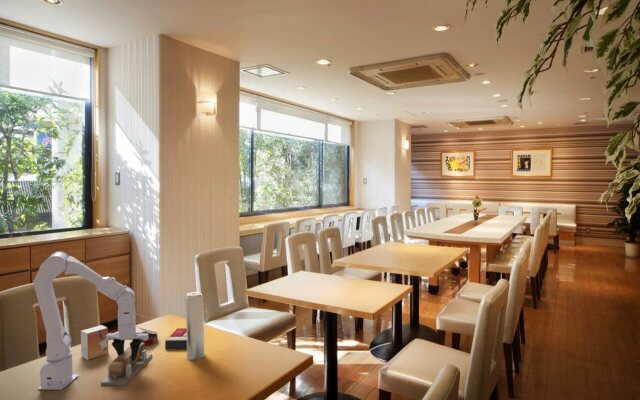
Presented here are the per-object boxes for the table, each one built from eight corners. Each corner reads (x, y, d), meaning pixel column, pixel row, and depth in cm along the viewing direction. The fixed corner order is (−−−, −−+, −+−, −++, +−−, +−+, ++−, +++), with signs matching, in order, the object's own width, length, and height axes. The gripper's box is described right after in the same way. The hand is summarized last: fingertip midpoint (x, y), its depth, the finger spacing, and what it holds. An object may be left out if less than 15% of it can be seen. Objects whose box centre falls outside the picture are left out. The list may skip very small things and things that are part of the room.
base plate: (124, 385, 138) (123, 372, 138) (100, 385, 138) (100, 372, 138) (152, 356, 160) (151, 345, 160) (131, 356, 160) (131, 345, 160)
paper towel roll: (199, 361, 156) (197, 296, 154) (183, 359, 157) (182, 295, 156) (207, 354, 162) (206, 291, 161) (192, 352, 164) (190, 290, 162)
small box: (87, 360, 157) (86, 333, 156) (81, 356, 160) (80, 330, 159) (109, 353, 163) (108, 327, 162) (102, 349, 166) (101, 324, 166)
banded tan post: (121, 375, 140) (121, 364, 140) (109, 375, 140) (109, 364, 140) (144, 352, 158) (144, 342, 158) (134, 352, 158) (133, 342, 158)
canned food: (136, 350, 177) (137, 326, 181) (160, 347, 178) (161, 323, 182) (126, 348, 166) (127, 323, 170) (152, 344, 167) (152, 319, 171)
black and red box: (201, 327, 182) (192, 338, 167) (201, 336, 182) (192, 349, 167) (176, 327, 182) (164, 339, 167) (176, 337, 182) (164, 349, 167)
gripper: (151, 318, 152) (152, 354, 153) (112, 318, 152) (113, 354, 153) (143, 325, 145) (144, 363, 146) (102, 325, 145) (103, 362, 146)
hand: (128, 359), depth 149 cm, fingers closed on banded tan post, 4 cm apart
